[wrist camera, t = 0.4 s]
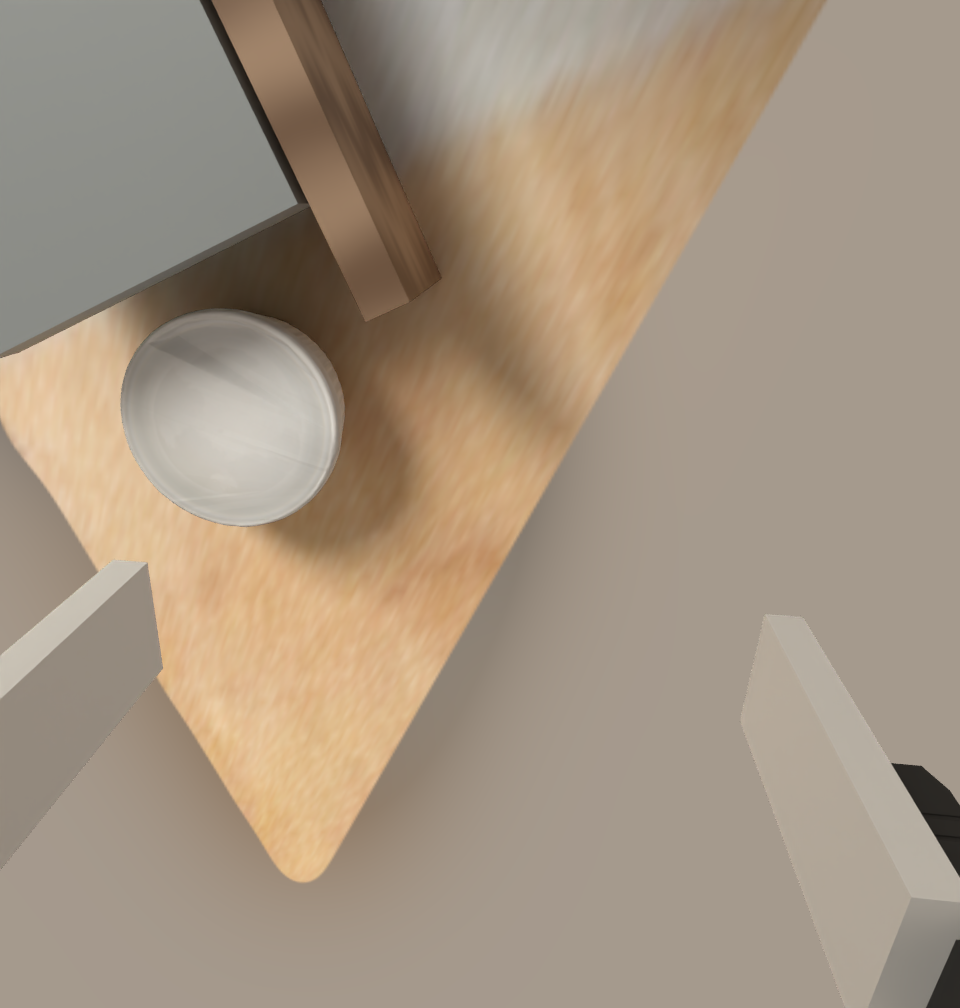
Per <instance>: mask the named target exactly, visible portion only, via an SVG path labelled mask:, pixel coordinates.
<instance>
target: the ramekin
mask: <svg viewBox="0 0 960 1008" xmlns="http://www.w3.org/2000/svg"><path fill="white" fill-rule="evenodd" d="M344 411H345V404H344V395H343V392H342V388H341V384H340V382H339V380H338V376H337V373H336V371H335V370H334V368H333V366H332V363H331V361H330V360H329V359H328V358H327V356H326V354H325V353H324V352H323V351H322V350H321V349H320V348H319V346H318V345H317V344H316V343H315V342H314V341H312V340H311V339H310V338H309V337H308V336H307V335H306V334H304V333H303V332H301V331H300V330H299V329H297V328H295V327H293V326H291V325H289V324H288V323H286V322H284V321H280V320H278V319H276V318H273V317H266V316H264V315H260V314H254V313H251V312H247V311H243V310H237V309H226V308H213V309H205V310H199V311H194V312H190V313H187V314H184V315H181V316H179V317H176V318H174V319H172V320H170V321H168V322H166V323H165V324H163V325H161V326H160V327H159V328H157V329H156V330H155V331H153V332H152V333H151V334H150V335H149V336H148V337H147V338H146V339H145V340H144V341H143V342H142V343H141V345H140V346H139V347H138V349H137V350H136V352H135V354H134V355H133V357H132V359H131V361H130V363H129V365H128V367H127V370H126V373H125V377H124V380H123V384H122V392H121V416H122V423H123V428H124V431H125V436H126V439H127V442H128V445H129V448H130V450H131V452H132V454H133V456H134V458H135V460H136V462H137V463H138V465H139V466H140V468H141V470H142V471H143V472H144V474H145V475H146V477H147V478H148V479H149V480H150V482H151V483H152V484H153V485H154V486H155V487H156V488H157V490H158V491H159V492H160V493H161V494H163V495H164V496H165V497H167V498H168V499H169V500H171V501H172V502H173V503H175V504H176V505H177V506H179V507H181V508H182V509H184V510H186V511H188V512H190V513H191V514H193V515H195V516H197V517H200V518H202V519H205V520H208V521H211V522H214V523H219V524H223V525H228V526H240V527H249V526H258V525H263V524H267V523H271V522H275V521H278V520H281V519H283V518H286V517H288V516H290V515H291V514H293V513H295V512H297V511H298V510H300V509H301V508H302V507H304V506H305V505H306V504H307V503H309V502H310V501H311V500H312V499H313V498H314V497H315V496H316V495H317V493H318V492H319V491H320V490H321V489H322V487H323V486H324V485H325V483H326V482H327V480H328V478H329V477H330V475H331V473H332V471H333V469H334V467H335V464H336V462H337V459H338V456H339V452H340V447H341V440H342V432H343V424H344V420H345V414H344Z"/></svg>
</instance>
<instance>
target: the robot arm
mask: <svg viewBox="0 0 960 1008" xmlns="http://www.w3.org/2000/svg"><path fill="white" fill-rule="evenodd" d="M162 669H163V665H162V658H161V651H160V645H159V638H158V631H157V624H156V618H155V611H154V604H153V597H152V591H151V584H150V577H149V570H148V563H147V562H135V561H123V560H112V561H111V562H110V563H109V564H107V565H106V566H105V567H104V568H103V569H102V570H100V571H99V572H98V573H97V574H96V575H95V576H93V577H92V578H91V579H90V580H89V581H87V582H86V583H85V584H84V585H83V586H82V587H80V588H79V589H78V590H77V591H76V592H74V593H73V594H72V595H71V596H70V597H69V598H67V599H66V600H65V601H64V602H63V603H62V604H61V605H59V606H58V607H57V608H56V609H54V610H53V611H52V612H51V613H50V614H49V615H47V616H46V617H45V618H44V619H43V620H42V621H40V622H39V623H38V624H37V625H36V626H35V627H33V628H32V629H31V630H30V631H29V632H27V633H26V634H25V635H24V636H23V637H21V638H20V639H19V640H18V641H17V642H16V643H14V644H13V645H12V646H11V647H10V648H9V649H7V650H6V651H5V652H4V653H3V654H2V655H0V870H1V869H2V868H3V866H4V865H5V864H6V863H7V861H8V860H9V859H10V857H11V856H12V855H13V854H14V853H15V851H16V850H17V849H18V848H19V847H20V845H21V844H22V843H23V842H24V840H25V839H26V838H27V836H28V835H29V834H30V833H31V832H32V830H33V829H34V828H35V827H36V825H37V824H38V823H39V822H40V820H41V819H42V818H43V817H44V815H45V814H46V813H47V812H48V810H49V809H50V808H51V806H52V805H53V804H54V803H55V802H56V801H57V799H58V798H59V797H60V796H61V794H62V793H63V792H64V791H65V789H66V788H67V787H68V786H69V784H70V783H71V782H72V781H73V779H74V778H75V777H76V776H77V774H78V773H79V772H80V771H81V769H82V768H83V767H84V766H85V765H86V763H87V762H88V761H89V760H90V758H91V757H92V756H93V755H94V753H95V752H96V751H97V749H98V748H99V747H100V746H101V745H102V743H103V742H104V741H105V740H106V738H107V737H108V736H109V735H110V734H111V732H112V731H113V730H114V729H115V727H116V726H117V725H118V723H119V722H120V721H121V720H122V718H123V717H124V716H125V715H126V714H127V712H128V711H129V710H130V709H131V707H132V706H133V705H134V704H135V702H136V701H137V700H138V699H139V697H140V696H141V695H142V694H143V692H144V691H145V690H146V689H147V688H148V686H149V685H150V684H151V683H152V681H153V680H154V679H155V678H156V676H157V675H158V674H159V673H160V671H161V670H162ZM740 722H741V725H742V728H743V731H744V734H745V736H746V739H747V742H748V744H749V747H750V750H751V753H752V756H753V758H754V761H755V764H756V766H757V769H758V772H759V775H760V778H761V780H762V783H763V786H764V788H765V791H766V794H767V797H768V799H769V802H770V805H771V808H772V810H773V813H774V816H775V818H776V821H777V824H778V826H779V830H780V832H781V835H782V838H783V841H784V843H785V846H786V848H787V851H788V854H789V857H790V860H791V862H792V865H793V868H794V871H795V873H796V876H797V879H798V882H799V884H800V887H801V890H802V892H803V895H804V898H805V901H806V903H807V906H808V909H809V912H810V914H811V917H812V920H813V922H814V925H815V928H816V931H817V934H818V936H819V939H820V942H821V945H822V947H823V950H824V953H825V956H826V958H827V961H828V964H829V966H830V969H831V972H832V975H833V977H834V980H835V983H836V985H837V988H838V991H839V994H840V997H841V999H842V1002H843V1005H844V1008H960V805H959V804H958V802H957V801H956V799H955V798H954V796H953V795H952V793H951V792H950V790H948V789H947V788H946V787H945V786H944V785H943V784H942V783H940V782H939V781H938V780H937V779H936V778H935V777H933V776H932V775H931V774H930V773H929V772H928V771H926V770H925V769H924V768H923V767H922V766H915V765H904V764H894V763H890V761H889V759H888V758H887V756H886V754H885V753H884V751H883V749H882V748H881V746H880V745H879V743H878V741H877V740H876V738H875V736H874V734H873V733H872V731H871V729H870V728H869V726H868V725H867V723H866V721H865V719H864V718H863V716H862V715H861V713H860V711H859V710H858V708H857V706H856V705H855V703H854V701H853V700H852V698H851V696H850V695H849V693H848V691H847V690H846V688H845V686H844V685H843V683H842V681H841V680H840V678H839V676H838V675H837V673H836V672H835V670H834V668H833V666H832V665H831V663H830V661H829V660H828V658H827V657H826V655H825V653H824V651H823V650H822V648H821V647H820V645H819V643H818V641H817V640H816V638H815V636H814V635H813V633H812V632H811V630H810V628H809V627H808V625H807V623H806V622H805V620H804V618H803V617H797V616H785V615H773V614H765V615H764V619H763V624H762V628H761V633H760V637H759V641H758V645H757V650H756V654H755V658H754V663H753V667H752V671H751V676H750V680H749V684H748V688H747V693H746V697H745V701H744V706H743V710H742V714H741V719H740Z"/></svg>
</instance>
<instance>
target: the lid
mask: <svg viewBox="0 0 960 1008" xmlns="http://www.w3.org/2000/svg"><path fill="white" fill-rule="evenodd" d="M308 207H310V205H309V203H308V201H307V199H306V197H305V195H304V192H303V190H302V188H301V186H300V184H299V182H298V180H297V178H296V176H295V174H294V172H293V169H292V167H291V165H290V163H289V161H288V159H287V157H286V155H285V153H284V151H283V149H282V147H281V144H280V142H279V140H278V138H277V136H276V134H275V132H274V130H273V128H272V126H271V124H270V121H269V119H268V117H267V115H266V113H265V111H264V109H263V107H262V105H261V103H260V101H259V98H258V96H257V94H256V92H255V90H254V88H253V86H252V84H251V82H250V80H249V78H248V75H247V73H246V71H245V69H244V67H243V65H242V63H241V61H240V59H239V57H238V55H237V52H236V50H235V48H234V46H233V44H232V42H231V40H230V38H229V36H228V34H227V32H226V30H225V27H224V25H223V23H222V21H221V19H220V17H219V15H218V13H217V11H216V9H215V7H214V4H213V2H212V0H0V358H2V357H5V356H9V355H12V354H16V353H19V352H21V351H23V350H25V349H27V348H29V347H31V346H33V345H35V344H37V343H39V342H41V341H43V340H45V339H47V338H49V337H51V336H53V335H55V334H57V333H59V332H61V331H63V330H65V329H67V328H69V327H71V326H73V325H75V324H77V323H79V322H81V321H83V320H85V319H87V318H89V317H91V316H93V315H95V314H97V313H99V312H101V311H103V310H105V309H107V308H109V307H111V306H113V305H115V304H117V303H119V302H121V301H123V300H125V299H127V298H129V297H131V296H133V295H135V294H137V293H139V292H141V291H143V290H145V289H147V288H149V287H151V286H153V285H155V284H157V283H159V282H161V281H163V280H165V279H167V278H169V277H171V276H173V275H175V274H177V273H179V272H181V271H183V270H185V269H187V268H189V267H191V266H193V265H195V264H197V263H199V262H201V261H203V260H205V259H207V258H209V257H211V256H213V255H215V254H217V253H219V252H221V251H223V250H225V249H227V248H229V247H231V246H233V245H234V244H236V243H238V242H240V241H242V240H244V239H246V238H248V237H250V236H252V235H254V234H256V233H258V232H260V231H262V230H264V229H266V228H268V227H270V226H272V225H274V224H276V223H278V222H280V221H282V220H284V219H286V218H288V217H290V216H292V215H294V214H296V213H298V212H300V211H302V210H304V209H306V208H308Z"/></svg>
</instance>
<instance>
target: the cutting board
mask: <svg viewBox="0 0 960 1008" xmlns="http://www.w3.org/2000/svg"><path fill="white" fill-rule="evenodd" d="M212 2H213V4H214V7H215V9H216V11H217V13H218V15H219V17H220V19H221V21H222V23H223V25H224V27H225V30H226V32H227V34H228V36H229V38H230V40H231V42H232V44H233V46H234V48H235V50H236V52H237V55H238V57H239V59H240V61H241V63H242V65H243V67H244V69H245V71H246V73H247V75H248V78H249V80H250V82H251V84H252V86H253V88H254V90H255V92H256V94H257V96H258V98H259V101H260V103H261V105H262V107H263V109H264V111H265V113H266V115H267V117H268V119H269V121H270V124H271V126H272V128H273V130H274V132H275V134H276V136H277V138H278V140H279V142H280V144H281V147H282V149H283V151H284V153H285V155H286V157H287V159H288V161H289V163H290V165H291V167H292V169H293V172H294V174H295V176H296V178H297V180H298V182H299V184H300V186H301V188H302V190H303V192H304V195H305V197H306V199H307V201H308V203H309V205H310V207H311V209H312V211H313V213H314V215H315V218H316V220H317V222H318V224H319V226H320V228H321V230H322V232H323V234H324V236H325V238H326V241H327V243H328V245H329V247H330V249H331V251H332V253H333V255H334V257H335V259H336V261H337V263H338V266H339V268H340V270H341V272H342V274H343V276H344V278H345V280H346V282H347V284H348V286H349V289H350V291H351V293H352V295H353V297H354V299H355V301H356V303H357V305H358V307H359V309H360V312H361V314H362V316H363V318H364V320H365V322H367V321H369V320H371V319H373V318H376V317H378V316H380V315H382V314H385V313H387V312H389V311H391V310H393V309H396V308H398V307H400V306H402V305H404V304H407V303H409V302H411V301H412V300H413V299H415V298H416V297H417V296H419V295H420V294H421V293H423V292H424V291H425V290H427V289H428V288H429V287H431V286H432V285H433V284H434V283H436V282H437V281H438V280H440V279H441V276H440V273H439V271H438V269H437V266H436V264H435V262H434V260H433V257H432V255H431V253H430V250H429V248H428V246H427V243H426V241H425V239H424V237H423V234H422V232H421V230H420V227H419V225H418V223H417V220H416V218H415V216H414V214H413V211H412V209H411V207H410V204H409V202H408V200H407V197H406V195H405V193H404V191H403V188H402V186H401V184H400V181H399V179H398V177H397V174H396V172H395V170H394V168H393V165H392V163H391V161H390V158H389V156H388V154H387V151H386V149H385V147H384V144H383V142H382V140H381V138H380V135H379V133H378V131H377V128H376V126H375V124H374V121H373V119H372V117H371V115H370V112H369V110H368V108H367V105H366V103H365V101H364V98H363V96H362V94H361V92H360V89H359V87H358V85H357V82H356V80H355V78H354V75H353V73H352V71H351V69H350V66H349V64H348V62H347V59H346V57H345V55H344V52H343V50H342V48H341V46H340V43H339V41H338V39H337V36H336V34H335V32H334V29H333V27H332V25H331V23H330V20H329V18H328V16H327V13H326V11H325V9H324V6H323V4H322V2H321V0H212Z"/></svg>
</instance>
